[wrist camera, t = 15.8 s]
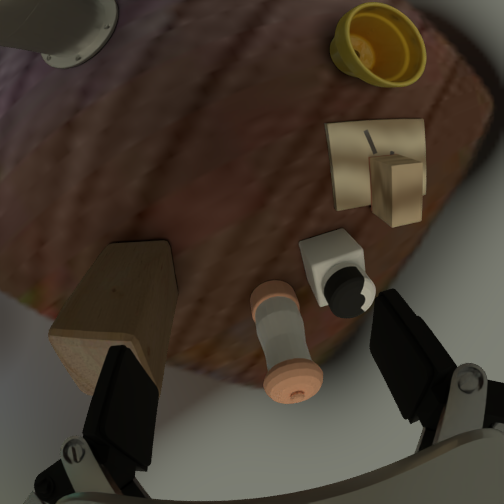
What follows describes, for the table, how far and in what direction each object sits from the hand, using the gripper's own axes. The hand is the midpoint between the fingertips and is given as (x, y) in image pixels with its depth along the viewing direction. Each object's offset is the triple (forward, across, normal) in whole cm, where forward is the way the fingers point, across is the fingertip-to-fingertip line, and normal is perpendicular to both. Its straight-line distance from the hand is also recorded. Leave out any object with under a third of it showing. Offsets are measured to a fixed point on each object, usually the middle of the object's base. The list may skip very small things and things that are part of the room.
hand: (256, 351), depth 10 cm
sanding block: (+27, -21, +4) cm, 35 cm away
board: (+28, -21, +1) cm, 35 cm away
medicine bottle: (+28, -11, +14) cm, 34 cm away
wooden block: (+28, +16, +10) cm, 34 cm away
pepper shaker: (+28, -2, +20) cm, 35 cm away
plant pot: (+28, -19, -14) cm, 37 cm away
